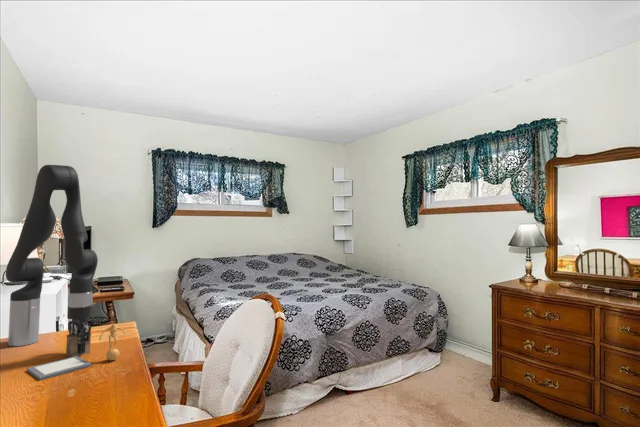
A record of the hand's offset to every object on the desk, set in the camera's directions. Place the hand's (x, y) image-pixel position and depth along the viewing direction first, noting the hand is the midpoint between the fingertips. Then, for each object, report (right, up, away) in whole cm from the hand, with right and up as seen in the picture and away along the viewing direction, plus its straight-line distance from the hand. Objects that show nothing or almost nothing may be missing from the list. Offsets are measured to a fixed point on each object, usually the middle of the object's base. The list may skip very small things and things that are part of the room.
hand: (78, 351), depth 129 cm
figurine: (+15, -1, -5) cm, 16 cm away
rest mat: (+3, 0, -13) cm, 13 cm away
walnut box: (0, -1, 0) cm, 1 cm away
